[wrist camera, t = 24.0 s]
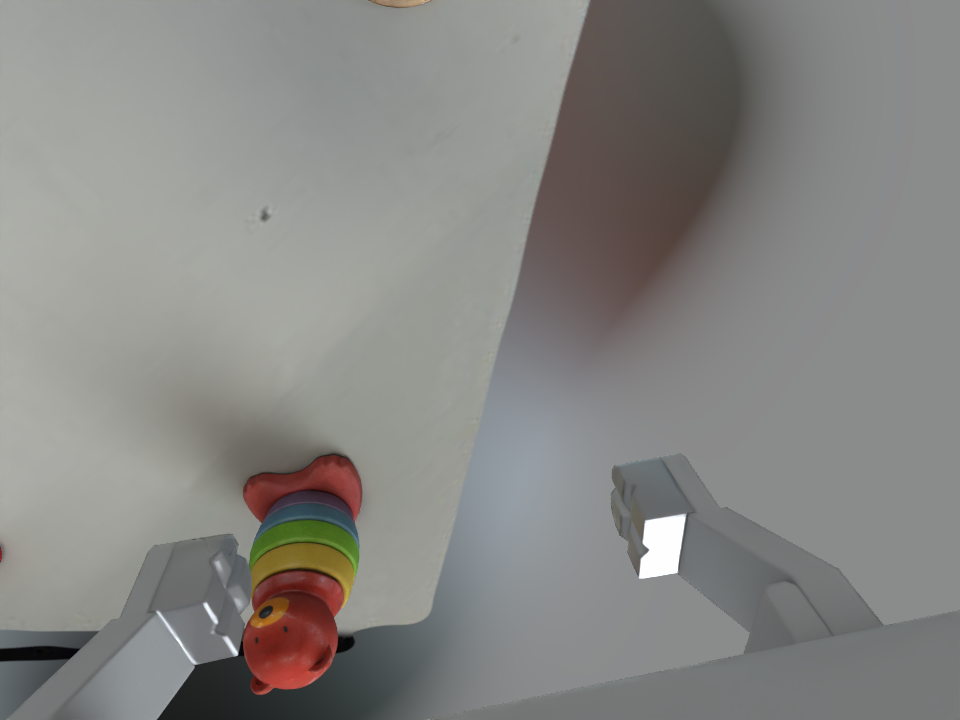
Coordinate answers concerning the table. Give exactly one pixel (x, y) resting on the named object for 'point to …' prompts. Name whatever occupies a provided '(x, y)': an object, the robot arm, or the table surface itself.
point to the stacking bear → (300, 570)
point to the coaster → (400, 3)
